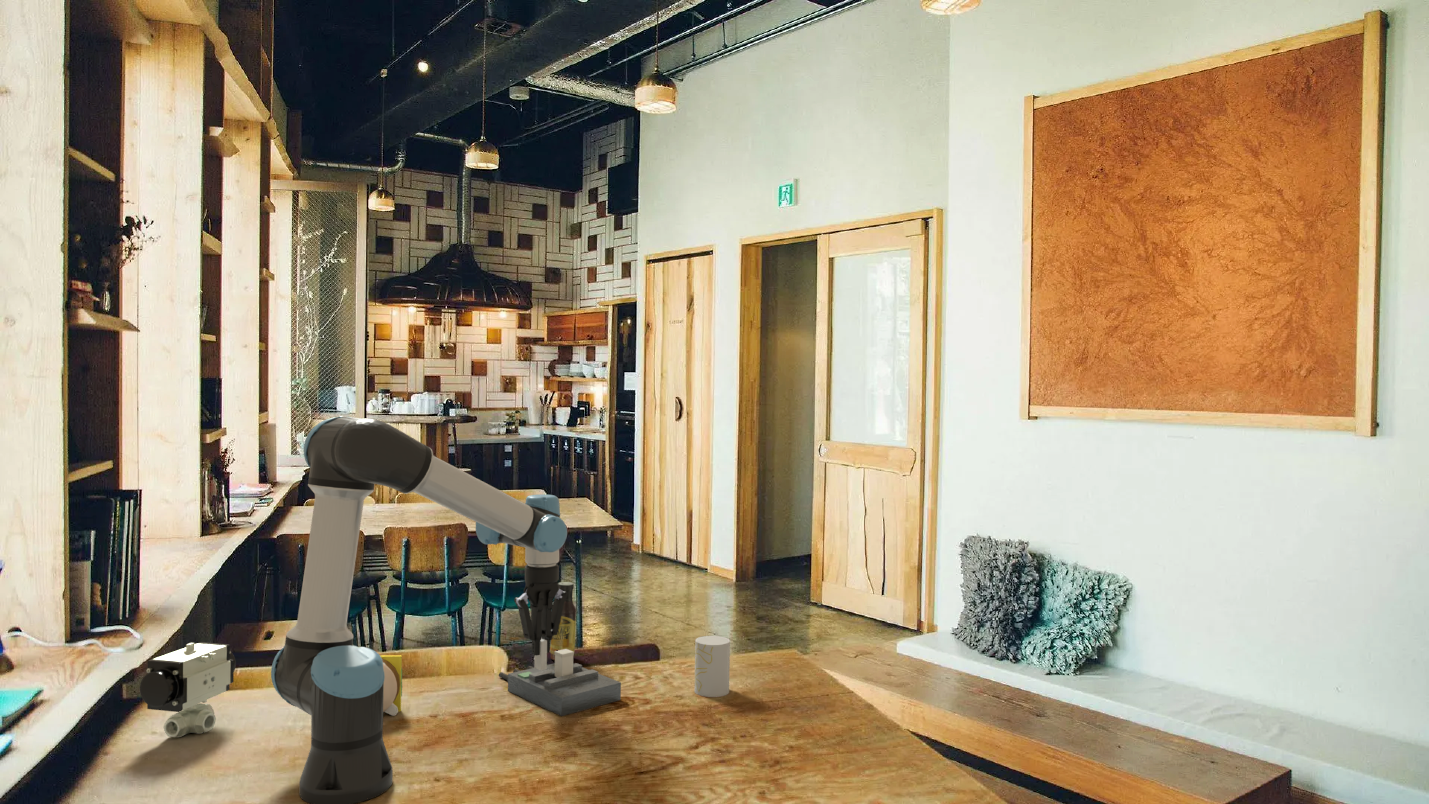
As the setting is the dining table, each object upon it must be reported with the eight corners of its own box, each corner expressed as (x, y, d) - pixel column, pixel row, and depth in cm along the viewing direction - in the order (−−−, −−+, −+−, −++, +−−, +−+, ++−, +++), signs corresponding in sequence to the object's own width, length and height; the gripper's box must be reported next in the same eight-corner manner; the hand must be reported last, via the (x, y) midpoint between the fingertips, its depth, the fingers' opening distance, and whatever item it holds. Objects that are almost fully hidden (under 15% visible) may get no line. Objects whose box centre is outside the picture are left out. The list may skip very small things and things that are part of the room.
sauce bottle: (545, 661, 236) (547, 584, 236) (556, 654, 242) (558, 579, 242) (568, 663, 234) (570, 586, 234) (579, 657, 240) (580, 581, 240)
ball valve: (175, 750, 175) (176, 658, 174) (137, 746, 176) (138, 654, 176) (242, 718, 192) (243, 634, 192) (207, 714, 194) (207, 631, 194)
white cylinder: (689, 688, 217) (689, 637, 216) (720, 684, 220) (720, 634, 220) (703, 698, 209) (704, 646, 209) (734, 694, 213) (735, 643, 213)
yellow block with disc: (334, 721, 192) (335, 664, 191) (347, 707, 200) (348, 652, 200) (393, 720, 192) (394, 663, 192) (403, 706, 201) (404, 652, 201)
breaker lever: (573, 676, 210) (574, 651, 210) (561, 679, 208) (562, 654, 208) (565, 673, 212) (566, 648, 212) (554, 676, 210) (554, 651, 210)
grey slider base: (620, 700, 207) (620, 677, 207) (561, 716, 196) (561, 692, 196) (542, 667, 231) (543, 647, 231) (486, 680, 220) (486, 659, 220)
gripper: (557, 558, 212) (555, 659, 213) (507, 564, 203) (506, 670, 204) (575, 562, 207) (574, 666, 207) (525, 569, 198) (524, 678, 198)
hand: (540, 668), depth 205 cm, fingers closed
